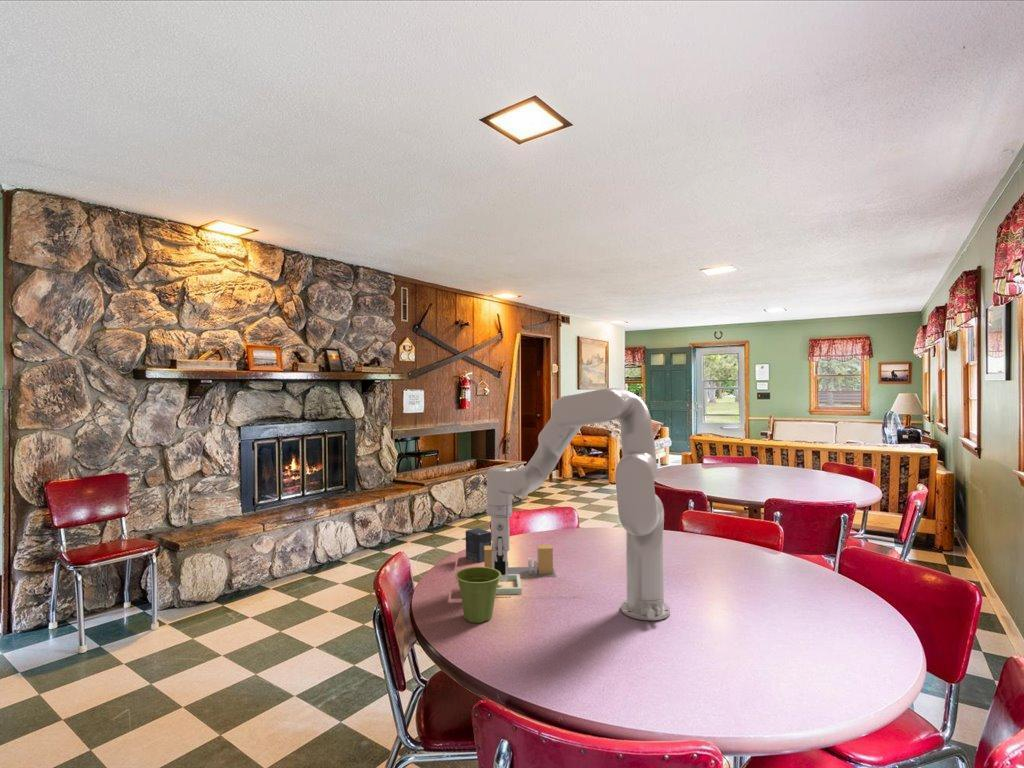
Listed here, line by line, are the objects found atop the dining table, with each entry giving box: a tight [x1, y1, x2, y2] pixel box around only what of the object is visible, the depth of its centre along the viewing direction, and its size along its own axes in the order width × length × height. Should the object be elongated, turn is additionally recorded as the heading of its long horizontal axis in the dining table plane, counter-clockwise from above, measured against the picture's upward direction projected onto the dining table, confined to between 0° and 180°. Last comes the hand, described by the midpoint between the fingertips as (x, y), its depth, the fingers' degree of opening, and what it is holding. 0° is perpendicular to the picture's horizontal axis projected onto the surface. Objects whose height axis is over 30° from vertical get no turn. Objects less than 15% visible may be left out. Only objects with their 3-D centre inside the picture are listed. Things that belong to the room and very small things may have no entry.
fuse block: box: [483, 543, 557, 579], centre depth 170 cm, size 10×23×9 cm, turn 92°
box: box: [465, 527, 492, 564], centre depth 184 cm, size 8×6×11 cm
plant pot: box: [455, 566, 501, 624], centre depth 138 cm, size 12×12×11 cm
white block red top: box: [491, 545, 509, 583], centre depth 158 cm, size 4×4×10 cm
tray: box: [495, 574, 523, 599], centre depth 157 cm, size 12×12×2 cm
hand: (499, 570), depth 158 cm, fingers closed on white block red top, 4 cm apart
